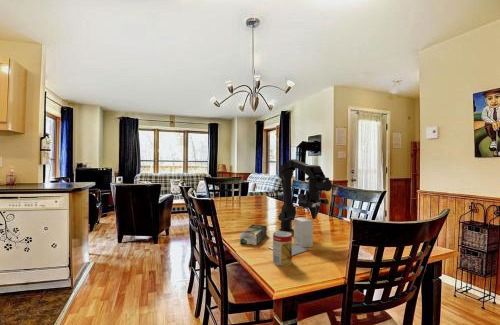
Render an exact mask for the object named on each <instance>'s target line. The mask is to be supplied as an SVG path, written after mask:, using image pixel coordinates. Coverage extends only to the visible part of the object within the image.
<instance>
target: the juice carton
mask: <svg viewBox="0 0 500 325" xmlns="http://www.w3.org/2000/svg"><path fill="white" fill-rule="evenodd" d="M267 230H268V226H267V225H265V224H264V225H262V224H251V225H250V226H248V227H246V228H245V229H244V230H242V231H241V232H239V244H246V245H249V244H252V246H257V245H258V244H260V243H261V241H263V239H264V238H265V237H267V234H268V232H267Z"/></svg>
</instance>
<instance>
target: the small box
mask: <svg viewBox="0 0 500 325" xmlns="http://www.w3.org/2000/svg"><path fill="white" fill-rule="evenodd" d="M313 221H314V219H310V218H307V217H304V216H303V217H295V218H294V220H293V229H294V230H293V243H294V245H297V246H300V247H303V248H309V247H313V246H314V244H313V243H314V242H313V241H314V238H313V236H314V235H313V233H314V232H313V230H314V227H313V226H314V222H313Z"/></svg>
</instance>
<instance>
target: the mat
mask: <svg viewBox="0 0 500 325" xmlns="http://www.w3.org/2000/svg"><path fill="white" fill-rule="evenodd" d="M268 249H269V250H271V249H272V251H273V245H272V246H268ZM308 251H310V250H309V248H307V247H300V246H298V245H297V244H295V243H294V244H293V243H292V257H294V256H297V255H298V254H299V255H300V254H303V253H306V252H308Z"/></svg>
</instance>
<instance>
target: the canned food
mask: <svg viewBox="0 0 500 325" xmlns="http://www.w3.org/2000/svg"><path fill="white" fill-rule="evenodd" d="M292 244H293V234H292V232H291V231H289V232H285V231H282V230H279V231H275V232H273V233H272V246H273V250H272V263H273V264H274V263H275V264H274V265H276V264H277V265H276V266H279V265H281V266H282V267H287V265H288V266H291V265H292V263H293V262H292V261H293V256H292ZM281 266H280V267H281Z"/></svg>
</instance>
